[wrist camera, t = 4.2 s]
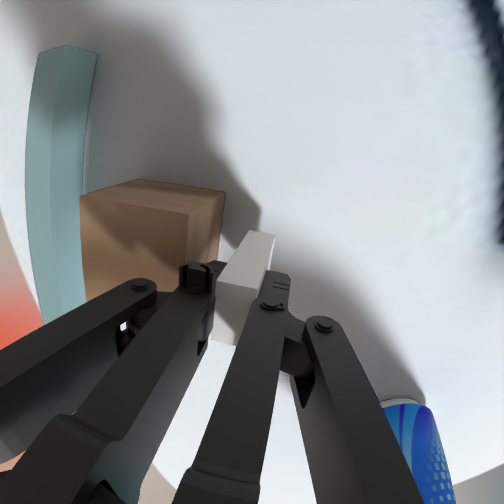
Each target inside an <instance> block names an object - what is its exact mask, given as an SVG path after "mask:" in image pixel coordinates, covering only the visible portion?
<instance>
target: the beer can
mask: <svg viewBox="0 0 504 504" xmlns="http://www.w3.org/2000/svg"><path fill="white" fill-rule="evenodd" d="M380 405H381V407H382V409H383V411H384V413H385V415H386V417H387V419H388V422H389V424H390V426H391V428H392V430H393V432H394V434H395V437H396V439H397V441H398V443H399V445H400V448H401V450H402V452H403V454H404V457H405V459H406V461H407V463H408V466H409V468H410V470H411V473H412V475H413V477H414V480H415V482H416V484H417V487H418V489H419V492H420V494H421V496H422V499H423V501H424V504H456V501H455V496H454V491H453V486H452V482H451V477H450V473H449V469H448V465H447V461H446V457H445V454H444V450H443V446H442V443H441V439H440V436H439V433H438V429H437V426H436V423H435V420H434V417H433V414H432V412H431V410H430V409H429V408H428V407H426V406H425V405H422V404H419V403H418V402H417V401H415V400H412V399H407V398H396V399H390V400H386V401H383V402H380Z"/></svg>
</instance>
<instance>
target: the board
mask: <svg viewBox="0 0 504 504" xmlns="http://www.w3.org/2000/svg"><path fill="white" fill-rule="evenodd" d="M97 55H98V54H96V53H93V52H90V51H86V50H83V49H80V48H76V47H72V46H69V45H64V46H60V47H57V48H54V49H50V50H47V51H44V52H41V53H39V54H38V58H37V63H36V68H35V73H34V78H33V84H32V90H31V97H30V104H29V112H28V121H27V133H26V149H25V202H26V219H27V231H28V240H29V249H30V256H31V263H32V270H33V276H34V281H35V287H36V292H37V297H38V301H39V306H40V310H41V315H42V319H43V323H44V325H46V324H47V323H49V322H51V321H53V320H55V319H56V318H58V317H60V316H62V315H64V314H66V313H67V312H69V311H71V310H73V309H75V308H77V307H79V306H80V305H82V304H84V303H86V302H87V301H86V294H85V286H84V277H83V267H82V255H81V239H80V207H79V196H81V195H82V182H83V158H84V144H85V132H86V123H87V114H88V106H89V99H90V93H91V86H92V81H93V75H94V70H95V65H96V60H97Z"/></svg>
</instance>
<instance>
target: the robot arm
mask: <svg viewBox="0 0 504 504" xmlns="http://www.w3.org/2000/svg"><path fill="white" fill-rule="evenodd" d="M275 237H276V235H273V234H268V233H262V232H257V231H252V230H249V231H248V233H247V234H246V236H245V237H244V239H243V240H242V242H241V243H240V245H239V246H238V248H237V249H236V251H235V253H234V254H233V256H232V257H231V259H230V260H229V262H228V263H226V262H221V261H216V260H213V261H211V262H208V263H206V264H204V263H200V262H187V263H183V264H182V265H180V266H179V286H178V287H177V288H176V289H175V290H174V291H173V292H162V291H157V285H156V283H155V282H153V281H152V280H149V279H146V278H134V279H131V280H128V281H126V282H124V283H122V284H120V285H118V286H116V287H114V288H112V289H110V290H109V291H107V292H105V293H103V294H101V295H99V296H97V297H95V298H93V299H92V300H90V301H88V302H86V303H84V304H82V305H80V306H79V307H77V308H75V309H73V310H71V311H69V312H67V313H66V314H64V315H62V316H60V317H58V318H56V319H55V320H53V321H51V322H49V323H47V324H46V325H44V326H42V327H41V328H38V329H37V330H35V331H33V332H31V333H29V334H28V335H26V336H24V337H22V338H21V339H19V340H17V341H15V342H14V343H12V344H10V345H9V346H7V347H5V348H3V349H2V350H0V464H2V463H4V462H7V461H8V460H11V459H13V458H15V457H16V456H18V455H19V454H20V453H22V452H24V451H25V450H26V451H25V453H24V454H23V455H22V457H21V458H20V459H19V460H18V462H17V463H16V465H15V466H14V467H13V468H12V470H8V471H3V472H0V504H137V503H138V500H139V495H140V487H141V484H142V481H143V479H144V477H145V475H146V473H147V471H148V469H149V467H150V465H151V463H152V461H153V459H154V456H155V454H156V452H157V450H158V448H159V446H160V444H161V442H162V440H163V438H164V436H165V434H166V432H167V430H168V428H169V425H170V423H171V421H172V419H173V417H174V415H175V413H176V411H177V409H178V407H179V405H180V403H181V401H182V399H183V396H184V394H185V392H186V390H187V388H188V386H189V384H190V382H191V380H192V378H193V376H194V374H195V372H196V370H197V367H198V365H199V363H200V361H201V359H202V357H203V355H204V353H205V351H206V349H207V345H208V336H209V334H210V333H211V340H214V341H218V342H222V343H226V344H230V345H235V346H237V347H236V349H235V352H234V355H233V358H232V360H231V363H230V366H229V369H228V371H227V374H226V377H225V379H224V382H223V385H222V388H221V390H220V393H219V396H218V398H217V401H216V404H215V406H214V409H213V412H212V414H211V417H210V420H209V422H208V425H207V428H206V430H205V433H204V436H203V438H202V441H201V444H200V446H199V449H198V451H197V454H196V457H195V459H194V462H193V464H192V466H191V467H190V468H188V469H187V470H186V472H185V473H184V475H183V477H182V480H181V482H180V484H179V487H178V489H177V492H176V494H175V497H174V500H173V502H172V504H258V500H259V494H260V476H261V471H262V466H263V461H264V456H265V451H266V446H267V441H268V435H269V430H270V424H271V418H272V413H273V407H274V401H275V395H276V389H277V383H278V377H279V370H281V371H283V372H286V373H288V374H290V384H291V389H292V393H293V397H294V402H295V406H296V411H297V415H298V420H299V424H300V429H301V433H302V438H303V442H304V447H305V451H306V456H307V460H308V465H309V469H310V474H311V479H312V483H313V488H314V492H315V497H316V502H317V504H424V501H423V499H422V496H421V494H420V492H419V489H418V487H417V484H416V482H415V480H414V477H413V475H412V473H411V470H410V468H409V466H408V463H407V461H406V459H405V457H404V454H403V452H402V450H401V448H400V445H399V443H398V441H397V439H396V437H395V434H394V432H393V430H392V428H391V426H390V424H389V422H388V419H387V417H386V415H385V413H384V411H383V409H382V407H381V405H380V402H379V400H378V398H377V396H376V394H375V392H374V390H373V388H372V386H371V384H370V382H369V380H368V378H367V376H366V374H365V372H364V370H363V368H362V366H361V364H360V362H359V360H358V358H357V356H356V354H355V352H354V350H353V348H352V346H351V344H350V342H349V340H348V338H347V336H346V334H345V333H344V331H343V329H342V327H341V326H340V324H339V323H338V322H336V321H335V320H333V319H331V318H328V317H325V316H313V317H310V318H308V319H307V321H306V322H303V321H301V320H299V319H297V318H295V317H294V316H292V315H291V314H290V313H289V311H288V298H289V290H290V283H291V279H290V278H289V276H288V275H287V274H284V273H279V272H274V271H269V270H270V264H271V259H272V253H273V248H274V242H275ZM124 322H126V329H125V330H123V331H121V329H120V325H121V324H123V323H124ZM211 331H212V332H211ZM76 410H77V411H76ZM75 411H76V412H75ZM74 412H75V413H74ZM72 413H74V414H72ZM71 414H72V415H71Z"/></svg>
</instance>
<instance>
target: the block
mask: <svg viewBox="0 0 504 504" xmlns="http://www.w3.org/2000/svg"><path fill="white" fill-rule="evenodd" d="M225 194H226V192H221V191H215V190H209V189H203V188H197V187H190V186H184V185H177V184H170V183H163V182H156V181H149V180H141V179H137V180H133V181H129V182H125V183H122V184H118V185H114V186H111V187H107V188H104V189H100V190H97V191H94V192H90V193H87V194H84V195H81V196H79V207H80V239H81V255H82V267H83V277H84V286H85V294H86V301H87V302H88V301H90V300H92V299H93V298H95V297H97V296H99V295H101V294H103V293H105V292H107V291H109V290H110V289H112V288H114V287H116V286H118V285H120V284H122V283H124V282H126V281H128V280H131V279H134V278H146V279H149V280H152V281H153V282H155V283H156V285H157V291H162V292H173V291H174V290H175V289H176V288H177V287H178V286H179V266H180V265H182V264H183V263H187V262H200V263H204V264H206V263H208V262H211V261H213V260H216V261H217V257H218V249H219V240H220V232H221V224H222V217H223V209H224V201H225Z"/></svg>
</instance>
